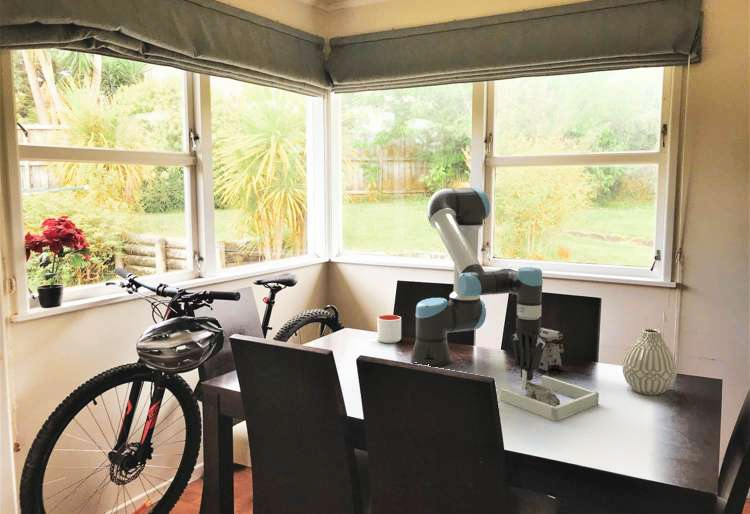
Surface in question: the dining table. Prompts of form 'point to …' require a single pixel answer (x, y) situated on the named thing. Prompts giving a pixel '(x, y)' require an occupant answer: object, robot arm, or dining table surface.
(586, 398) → the corral
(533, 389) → the mineral rock
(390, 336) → the cup
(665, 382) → the vase
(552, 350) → the figurine
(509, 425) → the dining table surface
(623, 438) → the dining table surface
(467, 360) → the dining table surface
